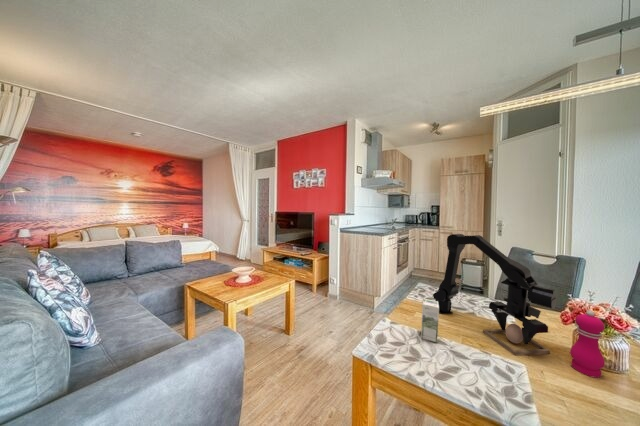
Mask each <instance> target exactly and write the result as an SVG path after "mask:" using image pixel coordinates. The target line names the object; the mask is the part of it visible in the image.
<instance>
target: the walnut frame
mask: <svg viewBox="0 0 640 426" xmlns="http://www.w3.org/2000/svg"><path fill="white" fill-rule="evenodd" d="M482 333H483V334H484V335H486V336H487V337H488V338H490V339H491V340H492V341H493V342H495V343H496V344H498V345H499V346H501V347H502V348H504V349H505V350H506V351H508V352H509V353H510V354H512V355H513V356H514V357H515V356H534V355H551V350H550V349H548V348H547V347H545V346H544V345H542V344H540V343H538V342H536V341H534V340H533V339H531V341H530V342H529V344H531V345H532V346H534V347H535V349H517V350H516V349H514V348H512V347H511V346H509V345H508V344H506V343H505V342H504V341H502V340H501V339H499V338H498V337H496V336H495V335H494V334H506V328H505V330H502V329H501V328H500V329H499V328H498V329H497V328H496V329H493V328H491V329H482ZM536 348H537V349H536Z"/></svg>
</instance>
